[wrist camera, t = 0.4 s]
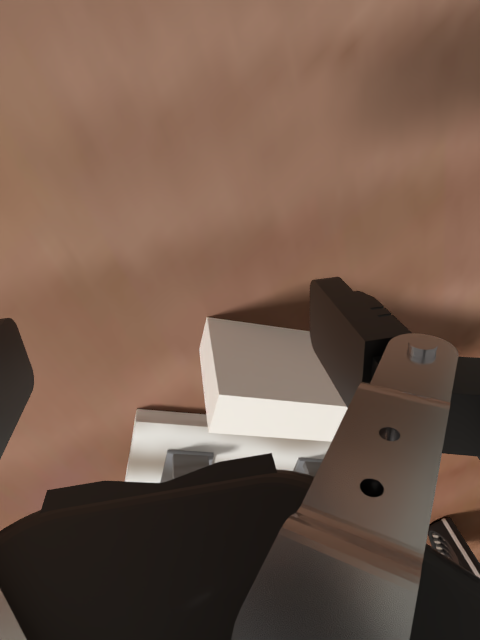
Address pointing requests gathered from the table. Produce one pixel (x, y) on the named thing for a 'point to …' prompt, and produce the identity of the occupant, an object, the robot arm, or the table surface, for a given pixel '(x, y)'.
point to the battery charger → (453, 545)
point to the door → (266, 383)
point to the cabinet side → (206, 447)
